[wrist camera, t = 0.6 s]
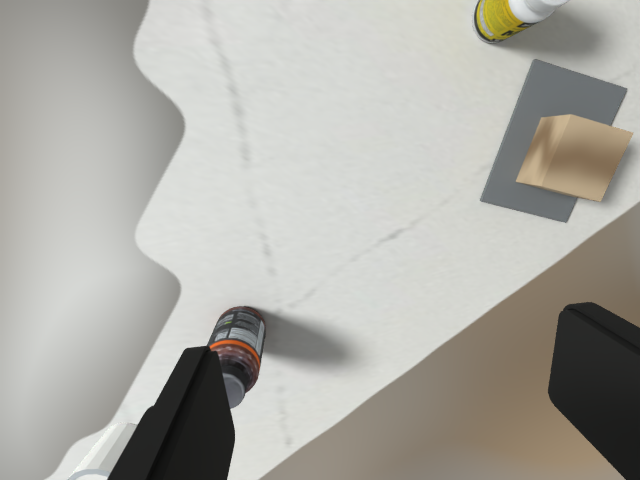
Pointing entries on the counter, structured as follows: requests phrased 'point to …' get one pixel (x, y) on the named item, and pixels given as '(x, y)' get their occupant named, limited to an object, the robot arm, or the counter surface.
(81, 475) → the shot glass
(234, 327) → the supplement bottle
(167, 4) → the counter surface
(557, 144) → the oak block
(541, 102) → the mat
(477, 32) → the supplement bottle
